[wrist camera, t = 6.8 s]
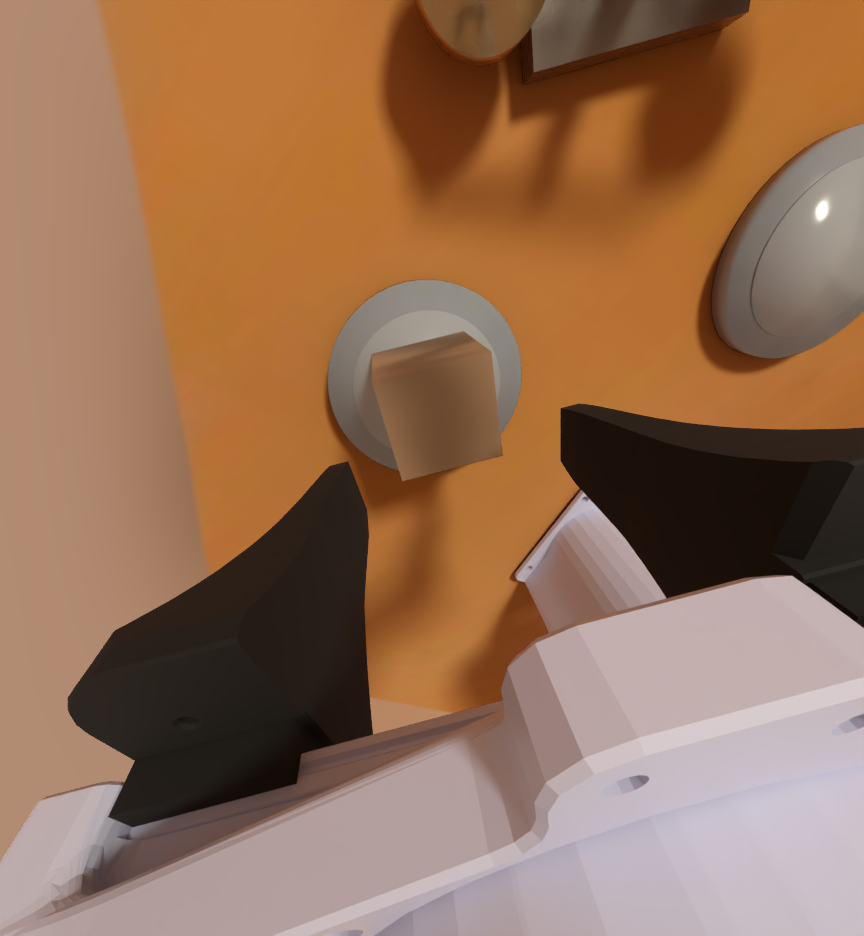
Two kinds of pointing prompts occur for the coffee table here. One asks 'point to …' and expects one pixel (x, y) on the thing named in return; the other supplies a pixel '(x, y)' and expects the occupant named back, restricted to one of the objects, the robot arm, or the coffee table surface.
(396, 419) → the walnut block
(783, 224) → the right dish
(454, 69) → the coffee table surface
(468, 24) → the bronze balance
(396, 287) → the left dish
